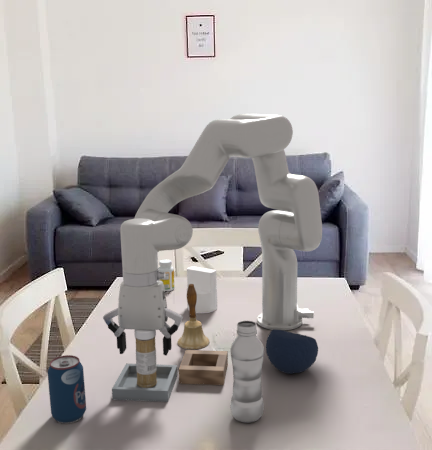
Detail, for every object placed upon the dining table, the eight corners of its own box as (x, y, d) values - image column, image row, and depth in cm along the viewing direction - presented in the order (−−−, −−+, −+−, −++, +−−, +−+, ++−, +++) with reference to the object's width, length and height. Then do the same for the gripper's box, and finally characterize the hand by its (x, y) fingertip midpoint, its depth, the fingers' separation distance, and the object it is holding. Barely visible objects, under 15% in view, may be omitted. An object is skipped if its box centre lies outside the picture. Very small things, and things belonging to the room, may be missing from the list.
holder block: (227, 364, 143) (227, 351, 142) (223, 385, 133) (223, 370, 132) (186, 363, 144) (185, 349, 143) (179, 383, 134) (178, 369, 133)
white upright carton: (223, 305, 181) (222, 267, 178) (206, 315, 174) (205, 275, 171) (198, 300, 186) (197, 263, 183) (181, 309, 178) (180, 271, 176)
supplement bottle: (164, 293, 193) (163, 264, 191) (155, 289, 197) (153, 260, 195) (177, 289, 196) (176, 261, 194) (168, 285, 200) (167, 257, 198)
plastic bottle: (228, 410, 123) (227, 318, 118) (261, 408, 123) (261, 316, 119) (232, 428, 116) (230, 331, 112) (266, 425, 117) (266, 329, 112)
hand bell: (205, 350, 151) (204, 290, 147) (173, 348, 152) (171, 288, 149) (212, 337, 158) (211, 279, 155) (182, 335, 160) (180, 278, 156)
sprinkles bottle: (152, 377, 136) (151, 321, 133) (160, 386, 132) (158, 329, 129) (133, 381, 134) (131, 325, 131) (140, 390, 130) (138, 333, 127)
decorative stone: (313, 386, 132) (314, 343, 130) (260, 379, 135) (260, 338, 133) (320, 362, 143) (321, 323, 140) (271, 357, 146) (271, 318, 144)
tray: (177, 375, 138) (177, 365, 137) (168, 401, 126) (167, 391, 126) (126, 373, 139) (126, 363, 139) (112, 399, 128) (111, 388, 127)
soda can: (86, 422, 119) (82, 367, 116) (50, 427, 118) (45, 371, 115) (86, 405, 126) (82, 352, 123) (52, 409, 124) (47, 355, 122)
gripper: (184, 272, 130) (186, 346, 134) (106, 271, 132) (110, 343, 136) (178, 283, 123) (180, 361, 126) (95, 282, 124) (101, 358, 128)
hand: (144, 352), depth 131 cm, fingers open, 9 cm apart
